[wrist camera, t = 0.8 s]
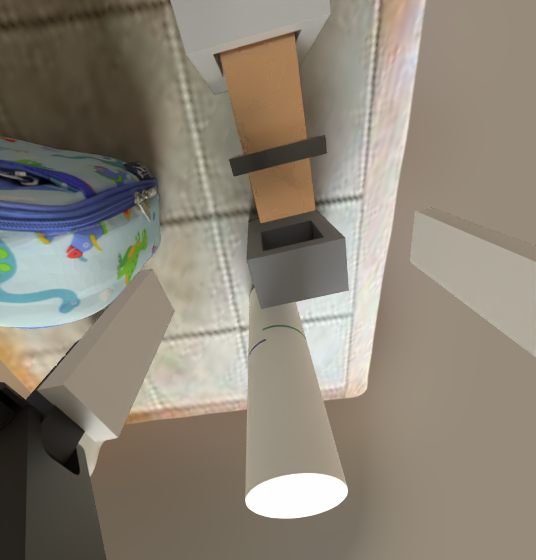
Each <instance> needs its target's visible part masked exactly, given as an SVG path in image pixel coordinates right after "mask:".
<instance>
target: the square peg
mask: <svg viewBox="0 0 536 560" xmlns="http://www.w3.org/2000/svg"><path fill="white" fill-rule="evenodd" d="M219 54H220V58H221V62H222V66H223V70H224V75H225V79H226V83H227V87H228V91H229V95H230V99H231V104H232V108H233V112H234V116H235V120H236V124H237V128H238V133H239V137H240V141H241V145H242V149H243V153H244V154H242V155H238V156H235V157H233V158H231V159H229V161H230V164H231V168H232V172H233V175H234V176H238V175H242V174H246V173H248V174H249V178H250V182H251V186H252V191H253V195H254V199H255V203H256V207H257V211H258V215H259V220H260V223H264V222H268V221H272V220H276V219H281V218H285V217H289V216H293V215H298V214H302V213H306V212H310V211H314V210H316V208H315V199H314V191H313V183H312V175H311V166H310V157H314V156H318V155H322V154H326V153H327V150H326V138H325V135H322V136H316V137H310V138H307V133H306V125H305V117H304V109H303V100H302V92H301V84H300V76H299V67H298V59H297V51H296V43H295V34H294V32H290V33H287V34H283V35H280V36H276V37H273V38H269V39H265V40H262V41H258V42H255V43H251V44H248V45H244V46H241V47H237V48H234V49H230V50H226V51H223V52H219Z"/></svg>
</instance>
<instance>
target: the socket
mask: <svg viewBox="0 0 536 560" xmlns="http://www.w3.org/2000/svg"><path fill="white" fill-rule="evenodd" d="M247 263H248V267H249V270H250V274H251V277H252V280H253V284H254V287H255V291H256V294H257V297H258V301H259V304H260V308H261V309H264V308H269V307H274V306H278V305H283V304H288V303H292V302H297V301H302V300H306V299H311V298H315V297H320V296H325V295H329V294H334V293H339V292H343V291H348V290H349V289H348V273H347V258H346V243H345V237H344V236H343V235H342V234H341V233H340V232H339V231H338V230H337V229H336V228H335V227H334V226H333V225H332V224H331V223H329V222H328V221H327V220H326V219H325V218H324V217H323V216H322V215H321V214H320V213H319V212H318V211H317V210H314V211H310V212H306V213H302V214H298V215H293V216H289V217H285V218H281V219H276V220H272V221H268V222H264V223H260V220H259V219H258V220H254V221H249V224H248V244H247Z"/></svg>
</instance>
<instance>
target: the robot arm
mask: <svg viewBox="0 0 536 560" xmlns="http://www.w3.org/2000/svg"><path fill="white" fill-rule="evenodd" d="M410 262H411V263H412V264H413V265H415V266H416V267H417V268H419V269H420V270H421V271H423V272H424V273H426V274H427V275H428V276H429V277H431V278H432V279H433V280H435V281H436V282H437V283H439V284H440V285H441V286H443V287H444V288H445V289H447V290H448V291H449V292H450V293H452V294H453V295H454V296H456V297H457V298H458V299H460V300H461V301H462V302H464V303H465V304H466V305H468V306H469V307H470V308H472V309H473V310H474V311H476V312H477V313H478V314H479V315H481V316H482V317H483V318H485V319H486V320H487V321H489V322H490V323H491V324H493V325H494V326H495V327H497V328H498V329H499V330H501V331H502V332H503V333H505V334H506V335H507V336H508V337H510V338H511V339H512V340H514V341H515V342H517V343H518V344H519V345H520V346H522V347H523V348H524V349H526V350H527V351H528V352H530V353H531V354H532V355H534V356H535V357H536V245H533V244H531V243H528V242H525V241H522V240H520V239H517V238H514V237H511V236H509V235H506V234H503V233H501V232H498V231H495V230H492V229H490V228H487V227H484V226H481V225H478V224H476V223H473V222H470V221H468V220H465V219H462V218H459V217H457V216H454V215H451V214H449V213H446V212H443V211H440V210H438V209H435V208H432V207H430V208H426V209H421V210H417V211H415V216H414V226H413V235H412V245H411V254H410ZM173 314H174V309H173V307H172V305H171V303H170V301H169V300H168V298H167V296H166V294H165V292H164V290H163V288H162V286H161V284H160V282H159V280H158V278H157V276H156V274H155V273H154V271H153V269H150V270H145V271H141V272H138V273H137V274H136V275H135V276H134V278H133V279H132V280H131V281H130V282H129V283H128V285H127V286H126V287H125V288H124V289H123V290H122V292H121V293H120V294H119V295H118V296H117V297H116V299H115V300H114V301H113V302H112V303H111V304H110V305H109V307H108V308H107V309H106V310H105V311H104V312H103V314H102V315H101V316H100V317H99V318H98V319H97V321H96V322H95V323H94V324H93V325H92V326H91V328H90V329H89V330H88V331H87V332H86V333H85V335H84V336H83V337H82V338H81V339H80V340H78V341H77V342H76V343H75V344H74V345H73V346H72V347H71V348H70V350H69V351H68V352H67V353H66V354H65V355H66V356H64V357H63V358H62V359H61V360H60V361H59V362H58V363H57V364H58V365H57V366H55V367H54V368H53V369H52V370H51V371H50V373H49V374H48V375H47V376H46V377H45V378H44V379H43V381H42V382H41V383H40V384H39V385H38V386H37V388H36V389H35V390H34V391H33V392H32V393H31V394H30V396H29V397H28V398H27V399H26V400H25V399H24V398H23V397H21V396H20V395H19V394H18V393H17V392H15V391H14V390H13V389H12V388H10V387H9V386H8V385H7V384H5V383H3V382H0V560H106V555H105V551H104V545H103V540H102V535H101V530H100V525H99V520H98V515H97V510H96V505H95V500H94V495H93V491H92V485H91V480H90V475H89V470H88V465H87V460H86V455H85V450H84V449H83V447H82V446H81V445H80V444H79V441H80V439H81V438H82V436H83V434H84V432H85V433H86V434H87V435H88V436H89V437H91V438H92V439H93V440H94V441H95V442H98V441H103V440H108V439H114V438H118V437H119V434H120V432H121V430H122V427H123V425H124V423H125V421H126V419H127V416H128V414H129V412H130V410H131V407H132V405H133V403H134V401H135V399H136V396H137V394H138V392H139V390H140V387H141V385H142V383H143V381H144V378H145V376H146V374H147V372H148V370H149V367H150V365H151V363H152V361H153V358H154V356H155V354H156V352H157V349H158V347H159V345H160V343H161V341H162V338H163V336H164V334H165V332H166V329H167V327H168V325H169V323H170V320H171V318H172V316H173Z"/></svg>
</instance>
